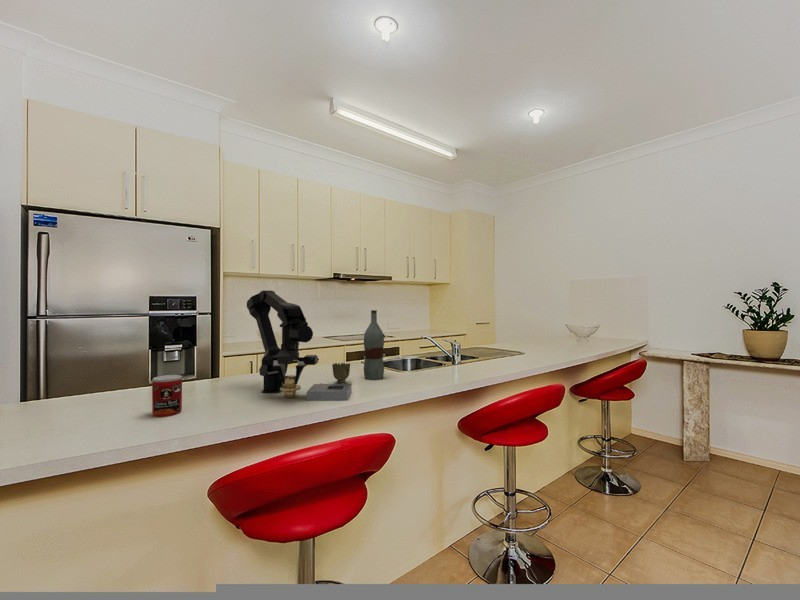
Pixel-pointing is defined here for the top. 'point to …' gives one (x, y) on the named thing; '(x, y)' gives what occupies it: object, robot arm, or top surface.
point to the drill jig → (329, 392)
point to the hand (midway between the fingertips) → (290, 384)
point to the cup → (341, 372)
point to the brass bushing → (290, 386)
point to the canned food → (166, 395)
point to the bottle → (373, 350)
